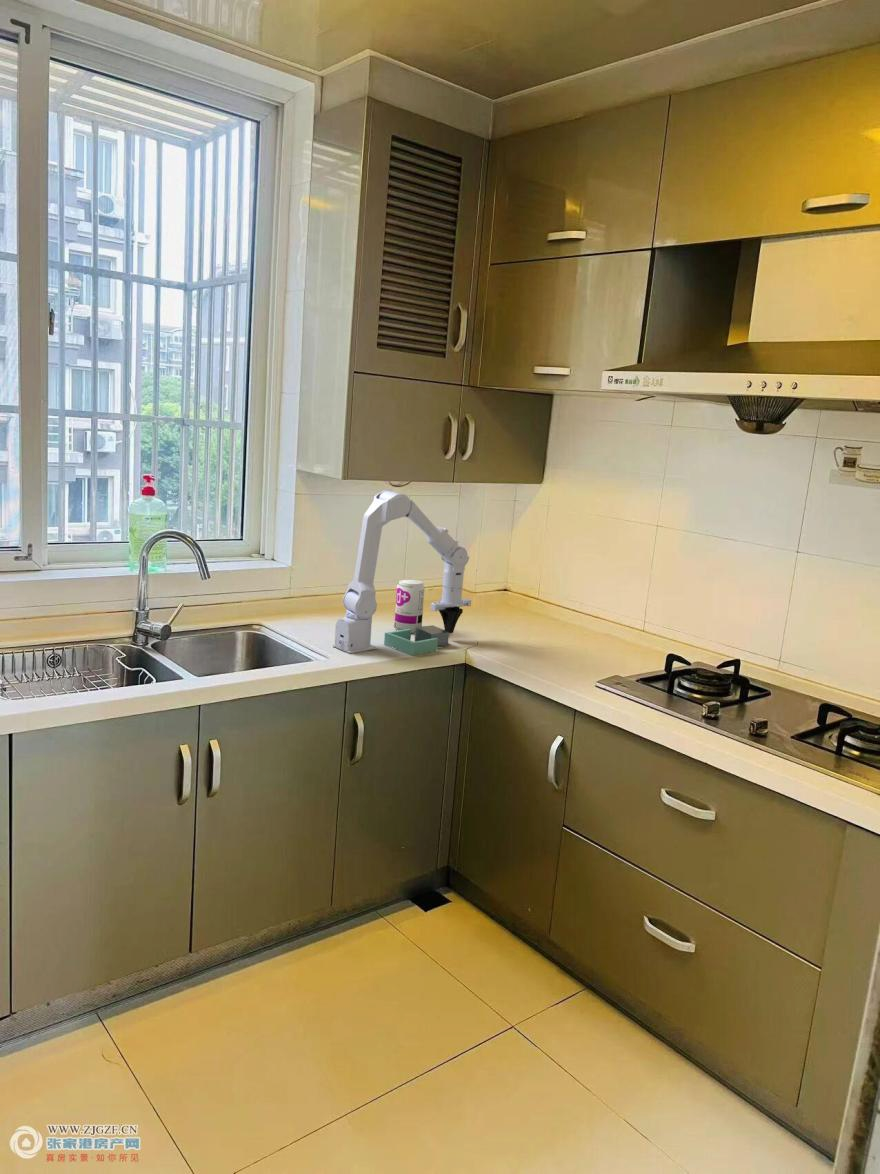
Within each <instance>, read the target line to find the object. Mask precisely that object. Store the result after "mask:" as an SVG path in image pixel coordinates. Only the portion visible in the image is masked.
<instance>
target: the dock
mask: <svg viewBox="0 0 880 1174" xmlns="http://www.w3.org/2000/svg"><path fill="white" fill-rule="evenodd" d="M411 636H412V634H411V629H405V630H399V631H397V630H394V631H387V632H384V641H383V643H384V644H385V645H384V644H383V645H384V646H386V645H388V646H387V647H389V646H390V647H389V648H391V647H393V648H392V649H394V648H395V649H394V650H397V649H398V650H397V651H399V650H401V651H400V652H402V651H403V653H405V652H406V653H405V654H407V653H408V655H410V654H411V655H410V656H412V655H414V656H418V655H417V654H419V655H422V654H421V653H424V654H427V653H426V652H429V653H432V652H431V651H434V652H437V651H438V648H437V643H438V639H437V638H432V639H427V640H421V641H416V642H415V641H413V640H411ZM436 650H437V651H436Z"/></svg>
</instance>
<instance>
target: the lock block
mask: <svg viewBox="0 0 880 1174" xmlns="http://www.w3.org/2000/svg"><path fill="white" fill-rule="evenodd" d="M449 635H450V633H449V632H447V631H445V629H442V628H440V627H439V626H436V625H432V624H431V625H422V626H421V627H416V630H415V633H414V642H415V641H421V640H427V639H432V638H437V639H438V643H437V647H443V648H447V647H446V646H448V647H449V637H450V636H449Z"/></svg>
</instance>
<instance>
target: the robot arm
mask: <svg viewBox="0 0 880 1174" xmlns="http://www.w3.org/2000/svg"><path fill="white" fill-rule="evenodd" d="M401 518H407V519H409V520H410V521H411V522H412V523H413V524H414V525H416V526H417V527H418V528H419V529H420V530H421V531H422V532H423V533H424V534H425V535H426V542H428V544H429V545H430V546H431V547H432V548H433V549H434V550H435V551H436V552H437V553H438V554H439V555H440V558H441V560H442V561H443V562H444V564H443V575H442V576H443V578H442V588H441V590H442V591H441V599H440V600H438V601H435V602H432V603H430V611H433V612H439V614H440V616H441V618H442V622H443V628H444V630H445V631H447V632H449V634H453V633H454V631H455V628H456V625H457V623H458V620H459V618H460V617H461V615H462V614H463V609H462V607H472V606H471V605H472V599H470V598H462V597H463V586H464V584H463V583H464V573H465V567H466V565H467V564H468V563H469V560H470V556H469V554H468V551H467V549H466V548H464V547H463V546H459V541H458V540H457V539H454V538H453V537H452V536H451V535H450V534H449V529H447V528H446V527H443V526H435V524H434V523H433V522H432V521H431V520H430V519H429V517H428V516H426V514H425V513H424V512H423V510H421V509H420V508H419V506H418V505H417V503H416V502H414V501H413V500H411V499H410V497H408V496H407V494H404V493H399V492H395V491H392V490H389V489H384V490H381V491H380V492H379V493H377V494H375V495H374V497H373V501H372V503H371V504H370V505H369V507H368V509H367V510H366V511H365V512H364V513H363V517H362V522H361V523H362V525H361V530H360V535H359V543H358V550H357V557H356V562H355V569H354V575H353V580H351V582H349V583H348V585H347V588H346V589H347V590H346V592H345V593H344V595H343V597H342V604H343V607H344V608H345V609H346V610H345V615H344V617H342V618H339V619H338V620H337V621H336V624H335V628H334V629H335V633H334V635H335V636H334V644H333V645H332V647H334V648H337V649H338V650H341V651H344V652H345V653H348V654H354V653H359V652H365V651H371V650H376V649H377V648H378V647H377V646H375V645H373V644H371V638H372V637H371V636H372V623H373V621H372V620H373V616H374V614H375V613H376V611H377V607H378V606H377V604H378V603H377V601H376V594H377V593H376V589H375V585H374V579H375V575H376V568H377V563H378V556H379V555H378V554H379V549H380V542H381V537H382V536H381V535H382V530H383V527H384V526H385V525H387V524H388V523H390V522H391V521H394V520H398V519H401Z"/></svg>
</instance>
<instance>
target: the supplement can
mask: <svg viewBox="0 0 880 1174" xmlns="http://www.w3.org/2000/svg"><path fill="white" fill-rule="evenodd" d="M424 598H425V585H424V582H423V581H422V580H419V579H415V578H414V579H413V578H409V579H408V578H406V579H405V578H404V579H399V582H398V583H397V585H396V597H395V609H394V611H395V612H394V626H393V627H394V629H395V631H397V630H398V631H399V630H405V629H411V633H412V634H415V630H416V627H421V626H423V615H424V603H425V599H424Z"/></svg>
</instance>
